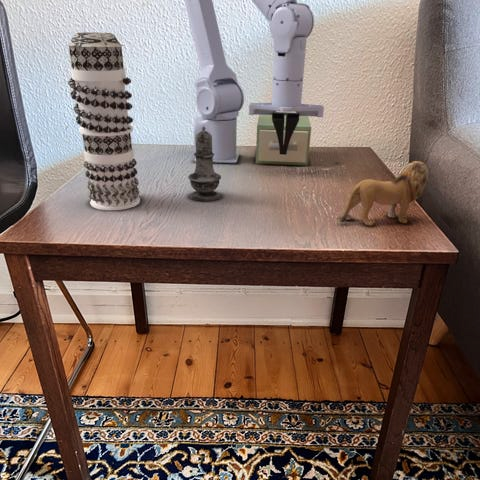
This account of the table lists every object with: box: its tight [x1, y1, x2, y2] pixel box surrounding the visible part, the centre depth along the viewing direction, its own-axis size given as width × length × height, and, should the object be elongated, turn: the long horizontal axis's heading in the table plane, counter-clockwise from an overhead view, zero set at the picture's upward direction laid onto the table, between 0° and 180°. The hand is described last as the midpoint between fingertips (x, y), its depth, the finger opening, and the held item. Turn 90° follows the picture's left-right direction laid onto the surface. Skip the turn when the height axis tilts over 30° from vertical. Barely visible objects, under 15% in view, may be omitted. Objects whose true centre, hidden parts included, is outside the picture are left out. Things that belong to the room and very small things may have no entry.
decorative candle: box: [66, 31, 141, 211], centre depth 74 cm, size 9×9×25 cm
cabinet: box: [255, 115, 312, 166], centre depth 108 cm, size 14×12×8 cm
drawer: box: [258, 129, 308, 163], centre depth 104 cm, size 17×10×6 cm, turn 176°
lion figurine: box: [339, 160, 429, 227], centre depth 73 cm, size 15×5×9 cm, turn 110°
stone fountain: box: [187, 126, 222, 202], centre depth 81 cm, size 6×6×12 cm
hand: (283, 153), depth 96 cm, fingers closed, pressing on drawer
